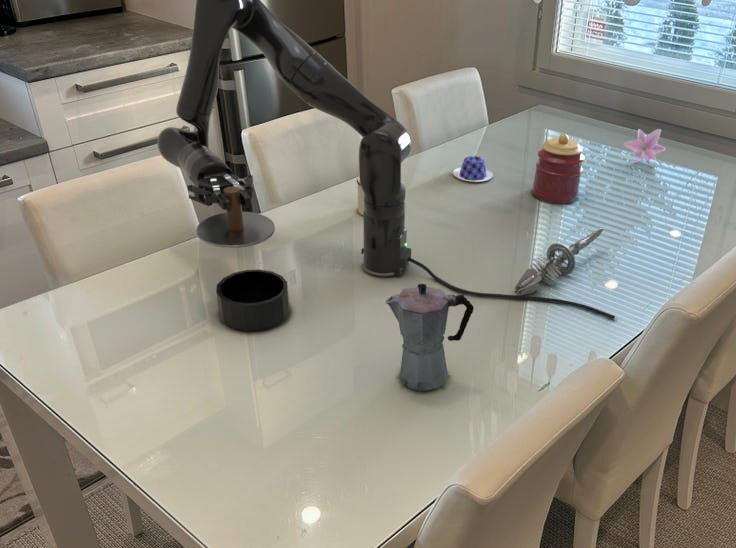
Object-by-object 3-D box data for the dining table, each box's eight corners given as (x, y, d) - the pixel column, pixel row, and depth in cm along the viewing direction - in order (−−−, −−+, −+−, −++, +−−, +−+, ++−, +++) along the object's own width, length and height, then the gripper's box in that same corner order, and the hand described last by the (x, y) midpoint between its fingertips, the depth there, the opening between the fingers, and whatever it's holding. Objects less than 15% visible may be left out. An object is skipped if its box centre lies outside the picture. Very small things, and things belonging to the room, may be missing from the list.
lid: (286, 222, 149) (283, 180, 144) (256, 255, 137) (252, 211, 132) (218, 211, 151) (213, 169, 146) (182, 244, 139) (175, 199, 134)
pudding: (493, 185, 213) (495, 167, 210) (452, 182, 213) (454, 165, 210) (491, 169, 223) (493, 152, 219) (452, 167, 222) (453, 150, 219)
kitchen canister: (584, 194, 211) (595, 133, 201) (566, 208, 202) (576, 146, 192) (543, 182, 216) (552, 123, 206) (524, 196, 207) (532, 135, 197)
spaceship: (622, 228, 175) (597, 207, 177) (535, 292, 156) (508, 268, 158) (607, 250, 181) (583, 229, 183) (521, 314, 162) (496, 290, 164)
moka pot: (383, 362, 140) (384, 270, 128) (463, 361, 141) (471, 271, 130) (385, 393, 132) (386, 299, 120) (469, 392, 134) (478, 299, 122)
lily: (615, 159, 238) (622, 139, 229) (637, 139, 241) (645, 118, 233) (645, 180, 234) (653, 160, 226) (666, 159, 238) (675, 139, 229)
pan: (299, 301, 156) (297, 275, 152) (273, 337, 145) (270, 309, 141) (238, 291, 158) (235, 265, 154) (208, 325, 147) (203, 298, 143)
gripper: (170, 160, 144) (198, 192, 133) (239, 149, 150) (271, 179, 139) (176, 195, 148) (204, 230, 137) (243, 184, 155) (274, 216, 143)
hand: (238, 204), depth 138 cm, fingers closed on lid, 3 cm apart
